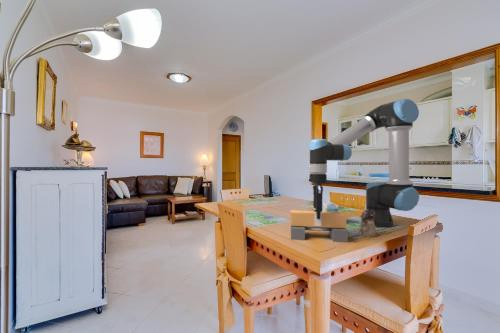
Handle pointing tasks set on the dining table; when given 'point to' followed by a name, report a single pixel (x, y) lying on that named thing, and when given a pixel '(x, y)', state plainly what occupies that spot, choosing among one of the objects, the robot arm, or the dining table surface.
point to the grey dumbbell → (334, 233)
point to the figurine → (367, 224)
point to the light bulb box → (329, 207)
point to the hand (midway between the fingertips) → (317, 224)
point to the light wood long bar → (327, 219)
